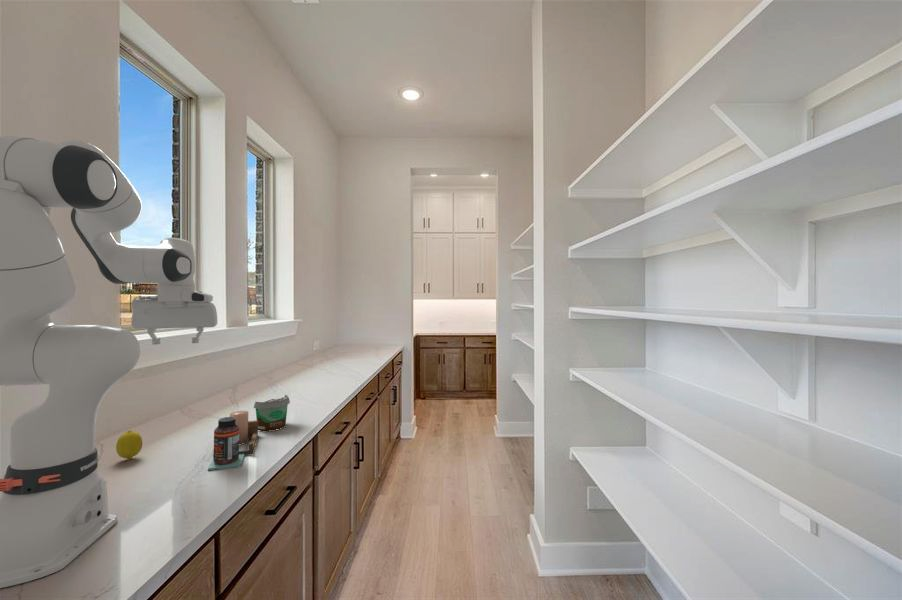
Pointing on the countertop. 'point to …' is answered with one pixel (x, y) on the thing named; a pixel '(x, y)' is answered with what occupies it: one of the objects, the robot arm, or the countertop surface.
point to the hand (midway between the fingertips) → (176, 343)
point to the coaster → (233, 464)
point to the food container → (272, 413)
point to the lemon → (129, 444)
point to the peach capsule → (241, 424)
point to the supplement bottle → (226, 441)
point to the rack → (251, 433)
